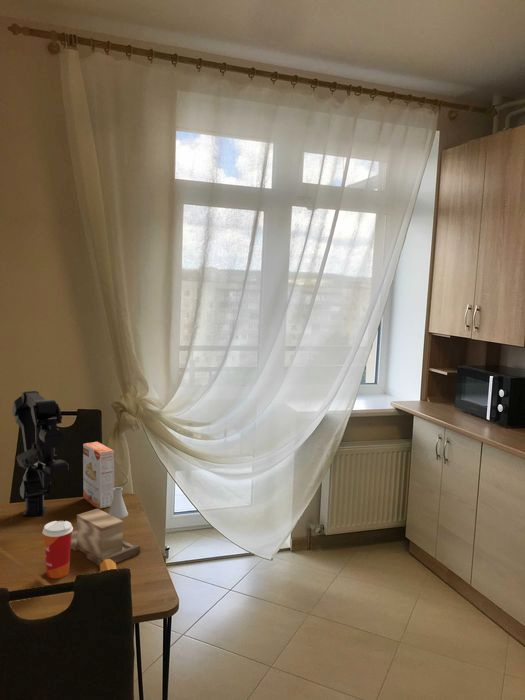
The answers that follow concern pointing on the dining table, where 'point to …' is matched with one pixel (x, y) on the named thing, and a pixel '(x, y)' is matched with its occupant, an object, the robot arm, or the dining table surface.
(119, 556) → the tan shallow tray
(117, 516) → the flask
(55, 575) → the paper cup
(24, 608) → the dining table surface
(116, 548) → the tea box
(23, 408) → the robot arm
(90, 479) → the cracker box
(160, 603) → the dining table surface
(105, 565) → the carrot
